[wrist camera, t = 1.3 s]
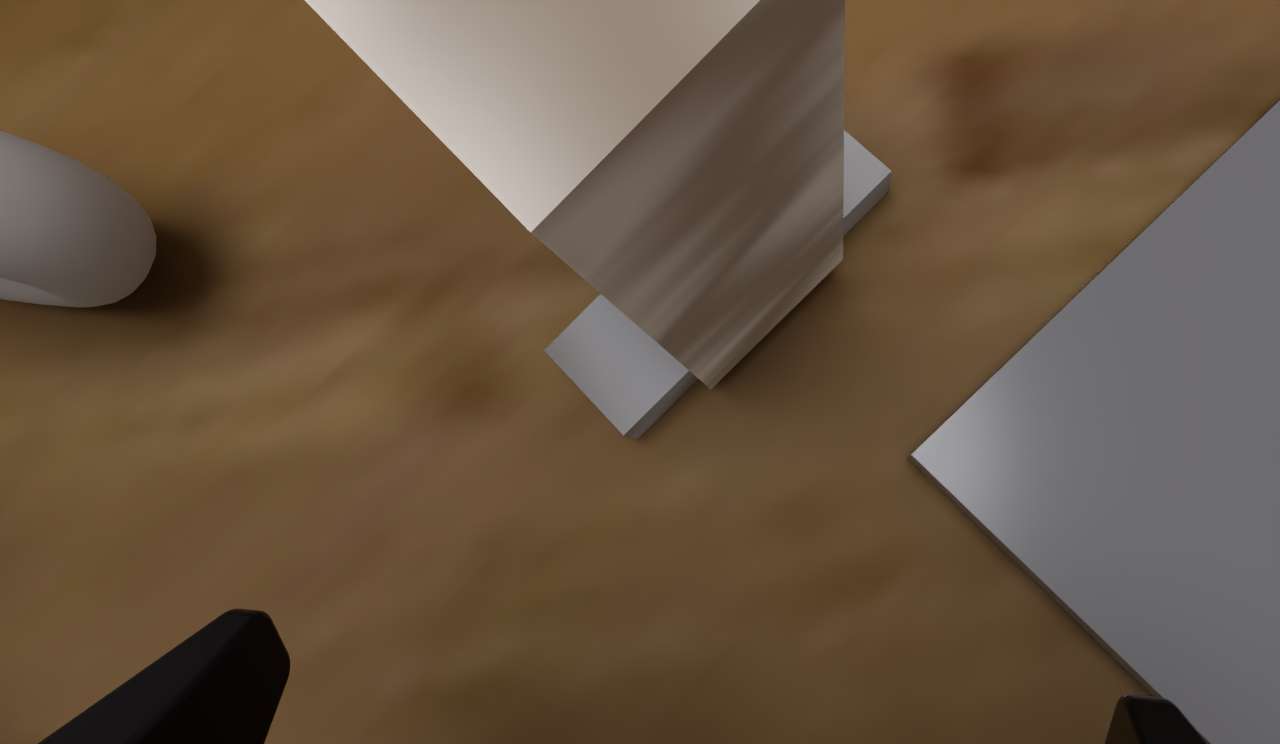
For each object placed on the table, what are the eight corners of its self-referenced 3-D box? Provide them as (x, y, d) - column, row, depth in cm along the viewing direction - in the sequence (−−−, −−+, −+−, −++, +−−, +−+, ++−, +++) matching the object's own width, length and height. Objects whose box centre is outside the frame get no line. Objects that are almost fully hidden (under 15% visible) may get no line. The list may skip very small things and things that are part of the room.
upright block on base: (655, 459, 23) (372, 391, 9) (545, 341, 24) (144, 122, 10) (908, 210, 23) (1016, -261, 9) (784, 101, 24) (703, -471, 10)
